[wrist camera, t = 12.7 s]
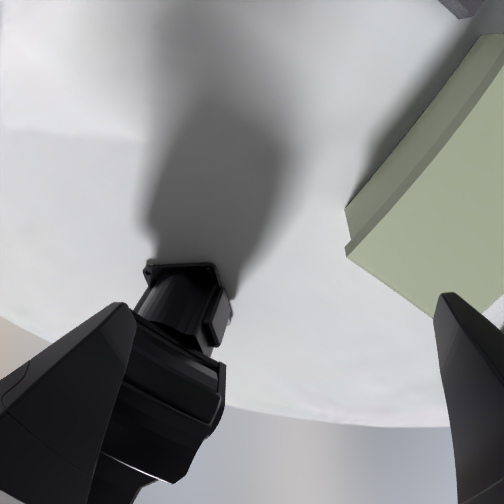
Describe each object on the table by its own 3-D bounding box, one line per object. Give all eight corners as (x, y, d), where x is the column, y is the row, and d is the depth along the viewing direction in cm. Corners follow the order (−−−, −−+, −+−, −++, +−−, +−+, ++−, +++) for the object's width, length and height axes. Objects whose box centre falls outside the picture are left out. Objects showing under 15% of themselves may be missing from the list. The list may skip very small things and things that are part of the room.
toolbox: (434, 284, 22) (455, 335, 17) (338, 210, 20) (346, 257, 15) (558, 138, 13) (603, 164, 8) (480, 28, 11) (529, 23, 6)
